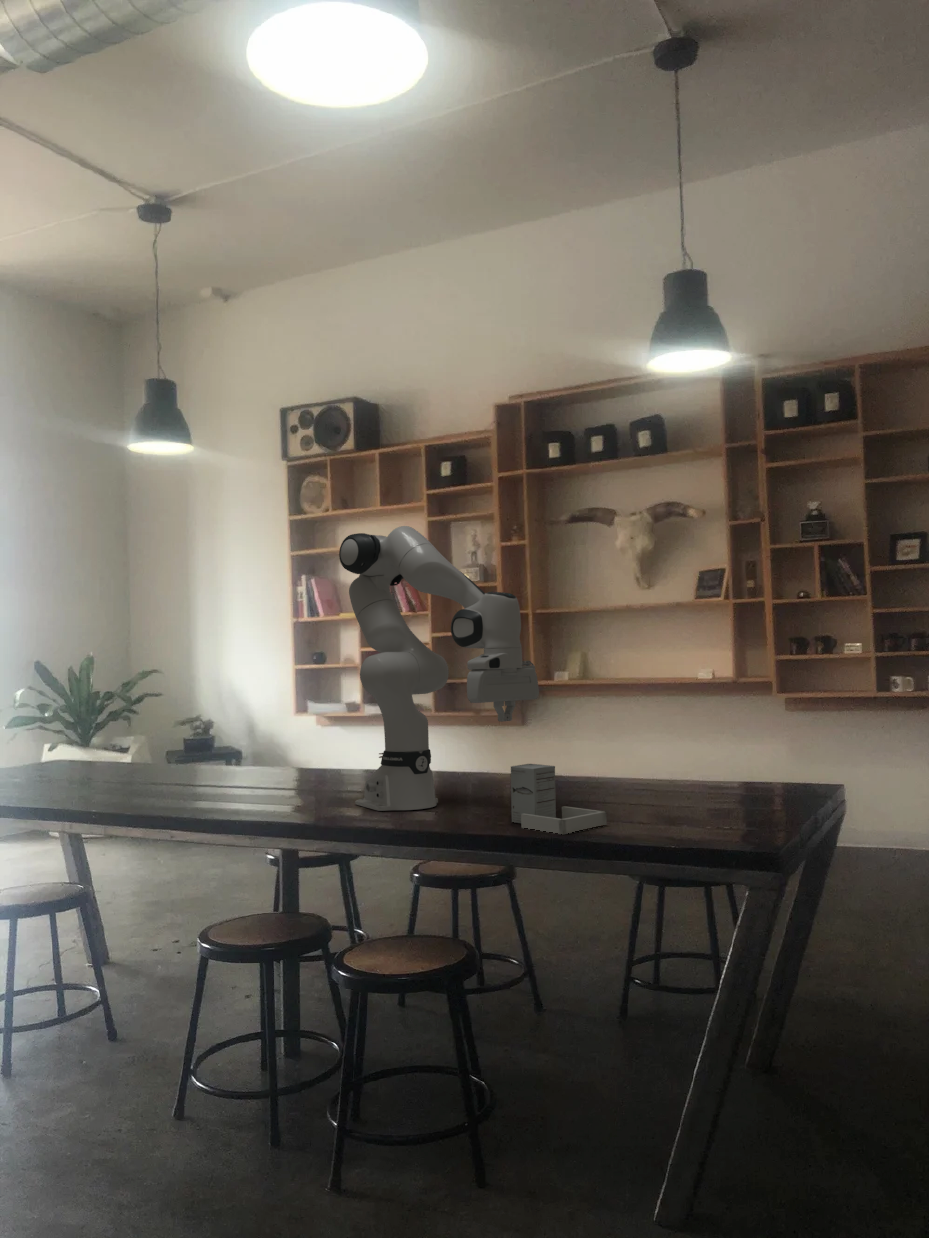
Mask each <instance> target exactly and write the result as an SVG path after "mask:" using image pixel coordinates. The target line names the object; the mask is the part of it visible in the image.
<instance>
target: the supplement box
mask: <svg viewBox="0 0 929 1238" xmlns="http://www.w3.org/2000/svg"><path fill="white" fill-rule="evenodd" d="M510 795H511V796H510V800H511V801H510V802H511V804H510V806H511V813H510V814H511V823H512V822H514V823H516V824H521V814H531V815H538V816H545V817H552V818H557V813H556V810H557V807H556V805H557V804H556V800H557V799H556V798H557V797H556V766H555V765H549V764H548V765H547V764H546V765H545V764H538V763H525V764H518V765H511V766H510Z"/></svg>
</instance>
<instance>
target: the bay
mask: <svg viewBox="0 0 929 1238" xmlns="http://www.w3.org/2000/svg"><path fill="white" fill-rule="evenodd" d="M607 822H608V821H607V811H604V810H598V809H597V810H595V809H590V808H589V809H588V808H580V807H574V806H566V805H565V806H561V818H558V817H556V818H552V817H545V816H538V815H531V814H521V823H520V825H521V829H524V828H528V829H527V830H530V829H535V830H534V831H536V830H540V831H539V832H543V831H546V832H545V833H549V832H553V833H552V834H555V833H558V834H557V835H561V834H562V835H563V836H564V835H568V833H569V834H573V833H572V832H574V833H576V832H575V831H579V830H583V829H587V828H592V827H596V826H601V825H607ZM607 826H608V825H607ZM583 831H584V830H583ZM579 832H580V831H579Z"/></svg>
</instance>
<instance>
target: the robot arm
mask: <svg viewBox="0 0 929 1238" xmlns="http://www.w3.org/2000/svg"><path fill="white" fill-rule="evenodd" d="M338 557H339V558H338V559H339V562H340V564H341V566H342V567H343V568H344V569H345V570H346V571H348V572H350V573H351V574H355V575H358V577H357V578H355V579H354V580H353V581H351V583H350V585H349V588H348V595H349V599H350V604H351V607H352V610H353V611H352V612H353V614H354V616H355V619H356V620H357V623H358V625H359V628H360V630H361V632H362V634H363V636H364V639H365V641H366V643H367V644H368V646H369V647H370V648H372V649H373V650H374V651H376V652H378V653H375V654H372V655H370V656H369V655H368V656H367V657H365V659H364V660H363V662H362V664H361V666H360V669H359V679H360V683H361V685H362V687H363V689H364V690H365V691H366V692H367V693H368V694H369V695H371V696H372V697H373V699H374V700H375V702H376V703H377V706H378V708H379V710H380V713H381V716H382V720H383V733H384V750H383V752H380V753H378V755H380V756H378V758H379V759H381V761H380V766H379V767H378V768H377V770H375V771H374V772H373V773H372V774H371V776H370V777H368V778H367V779H366V780H365V784H364V795H363V796H364V797H363V798H359V799H357V800H355V802H354V805H357V806H361V807H363V808H367V809H371V810H374V811H379V812H382V811H383V812H384V811H385V812H387V811H413V810H423V809H431V808H433V807H436V806H437V804H438V803H439V798H438V797H436V791H435V784H434V776H433V775H434V774H433V770H432V769H431V767H430V764H431V763H432V754H431V753H432V752H431V749H430V747H429V746H430V744H429V719H428V718H427V716H426V715H425V714H424V713H423V712H421V711H419V710H418V709H417V707H416V705H415V703H414V699H413V695H426V694H430V693H434V692H437V691H438V690H441V689H443V688H444V687H445V686H446V684H447V683H448V682H447V681H448V679H449V673H450V672H449V666H448V663H447V661H446V659H445V658H444V657H443V656H442V655H440V654H439V653H436V652H434V651H433V650H431V649H430V648H429V647H428V646H427V645H425V644H424V643H423V642H422V641H421V640H420V639H419V638H418V637H417V636H416V635H415V633H414V632H413V631H412V630H411V628H410V627H409V626H408V624H407V623H406V621H405V618H404V617H403V615H402V613H401V611H400V609H399V607H398V605H397V604H396V600H395V599H394V597H393V595H392V593H391V589H390V587H394V586H398V585H399V584H400V583H401V581H402V580H403V579H404V580H405V582H407V584H409V586H410V587H412V588H414V589H416V590H417V591H419V592H421V593H424V594H429V595H434V596H438V597H443V598H446V599H449V600H452V601H454V602H456V603H458V604H460V605H461V606H462V607H463V609H460V610H458V611H456V613H455V614H454V616H453V617H452V620H451V622H450V623H451V624H450V633H451V637H452V639H453V641H454V643H455V644H456V645H457V646H459V647H461V648H466V649H483V653H481V654H480V655H478V656H476V657H474V658H472V659H469V660H468V661H467V663H466V665H467V669H468V670H469V672H468V673H467V676H466V696H467V699H468V701H469V703H471V704H472V703H473V704H481V703H493V708H494V710H495V712H496V714H497V721H498V722H512V721H513V712H514V710H515V709H516V701H527V700H528V701H529V700H537V699H538V698H539V695H540V690H539V689H540V688H539V687H540V686H539V681H538V676H537V672H536V665H534V663H533V662H532V661H531V660H523V647H522V643H521V638H520V637H521V636H520V635H521V632H522V631H521V630H522V620H521V619H522V618H521V617H522V616H521V609H520V603H519V600H518V598H517V596H516V595H514V594H513V593H510V592H502V591H501V592H500V591H487V592H484V591H483V590H482V589H481V588H480V587H479V586H478V585H477V584H476V583H475V582H474V581H473V580H472V579H470V578H469V577H468V576H467V575H465V574H464V573H463V572H462V571H460V569H458V568H457V567H456V566H454V565H453V563H451V562H450V561H449V560H448V559H447V558H446V557H445V556H443V555H442V553H441V552H440V551H439V550H438V549H437V548H436V547H435V546H434V544H432V543H431V541H430V540H429V539H427V538H426V537H425V536H424V535H423V534H422V533H420V532H419V531H418V530H416V529H415V528H413V527H412V526H408V525H402V526H398V527H396V528H394V529H393V530H392V531H390V533H389V534H388V535H387V536H386V535H381V534H380V535H378V534H377V535H376V534H368V533H364V532H362V533H361V532H360V533H352V534H349V535H347V536H346V537H345V538H344V539H343V540H342V542H341V544H340V548H339V554H338ZM504 707H505V710H504Z"/></svg>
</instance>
